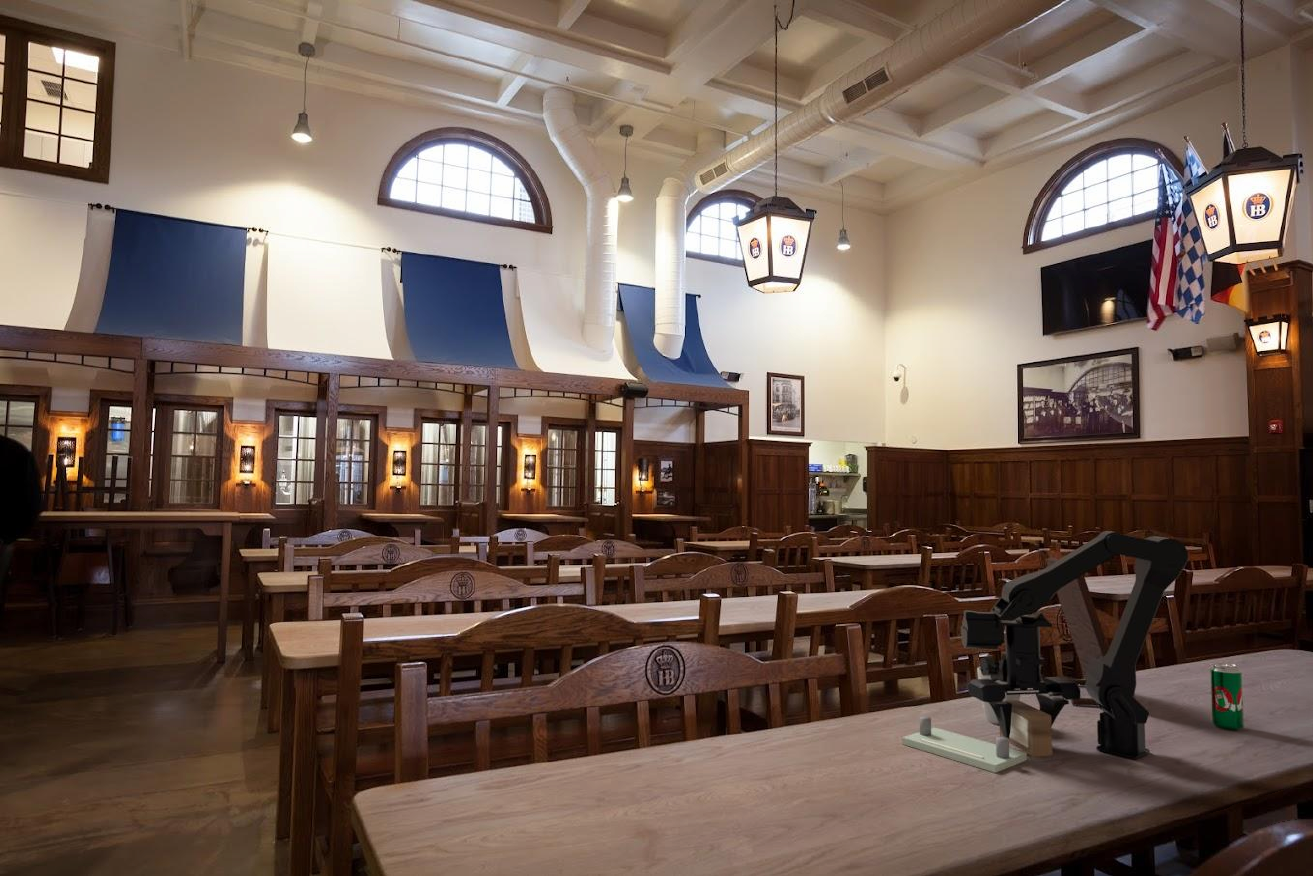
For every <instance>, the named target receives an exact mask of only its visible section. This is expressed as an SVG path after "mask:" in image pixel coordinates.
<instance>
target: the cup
mask: <svg viewBox="0 0 1313 876" xmlns="http://www.w3.org/2000/svg"><path fill="white" fill-rule="evenodd" d="M976 669H977V670H976V671H977V679H990V680H991V677H990V675H989V676H983V675H982V673H981V669H980V666H979V667H977V668H976ZM995 682H997V683H999V684H1007V682H1002V681H1000V680H997V681H995ZM1015 690H1017V689H1015ZM1018 690H1019V689H1018ZM1020 697H1021V695H1007V700H1016V699H1017V700H1019V701H1020V699H1021V698H1020ZM980 702H981V706H982V709H983V713H984V715H985V718H986V721H987V722H989V723H992V724H995V725H999V723H998V720H997V717H996V715H995V713H994V711H993V709H992V707H991V705H990V704H989V703H988V702H983V701H981V700H980Z"/></svg>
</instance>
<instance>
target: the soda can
mask: <svg viewBox="0 0 1313 876" xmlns="http://www.w3.org/2000/svg"><path fill="white" fill-rule="evenodd" d="M1211 665H1212V666H1211V667H1210V669H1209V672H1210V676H1209V677H1210V678H1209V679H1210V696H1211V697H1210V699H1211V722H1212V724H1213V725H1214V727H1216V728H1218V729H1222V730H1225V731H1234V732H1235V731H1241V730H1242V729H1243V728H1244V727H1245V721H1244V720H1245V718H1244V714H1245V713H1244V696H1243V695H1244V694H1243V692H1244V691H1243V674H1242V673H1243V672H1242V671H1241V669H1240V666H1239V665H1236V664H1232V663H1225V662H1214V663H1211Z"/></svg>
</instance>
